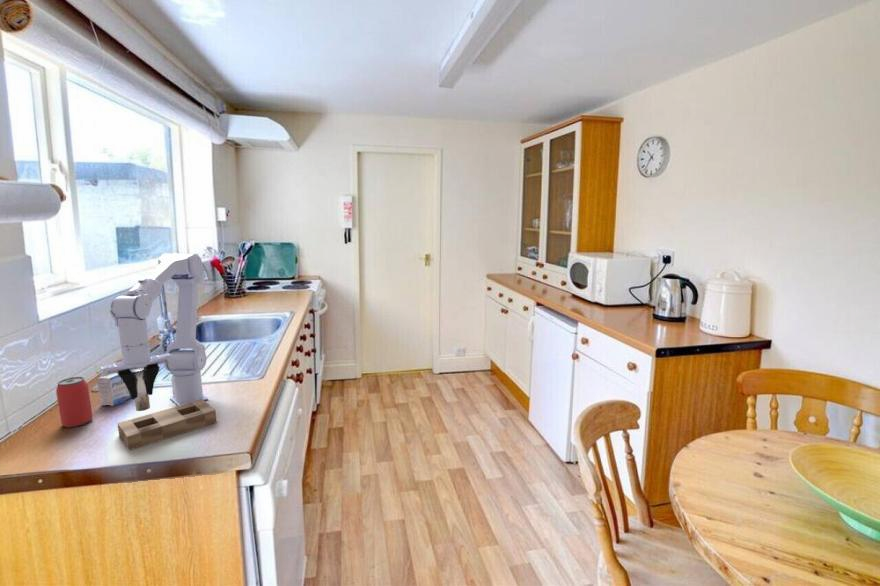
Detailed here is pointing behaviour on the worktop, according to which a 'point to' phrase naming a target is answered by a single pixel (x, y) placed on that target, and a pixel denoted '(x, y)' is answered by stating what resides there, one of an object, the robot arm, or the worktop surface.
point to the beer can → (74, 401)
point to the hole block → (165, 424)
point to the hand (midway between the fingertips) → (141, 395)
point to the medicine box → (112, 389)
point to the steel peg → (141, 389)
